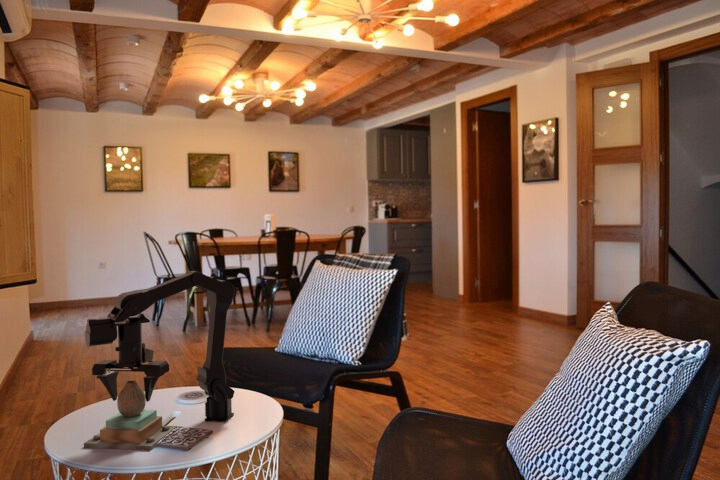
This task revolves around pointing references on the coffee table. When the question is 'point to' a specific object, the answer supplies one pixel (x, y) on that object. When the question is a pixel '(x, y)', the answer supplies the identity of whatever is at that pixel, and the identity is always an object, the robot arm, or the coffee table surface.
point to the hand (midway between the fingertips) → (131, 400)
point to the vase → (131, 400)
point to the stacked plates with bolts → (131, 432)
